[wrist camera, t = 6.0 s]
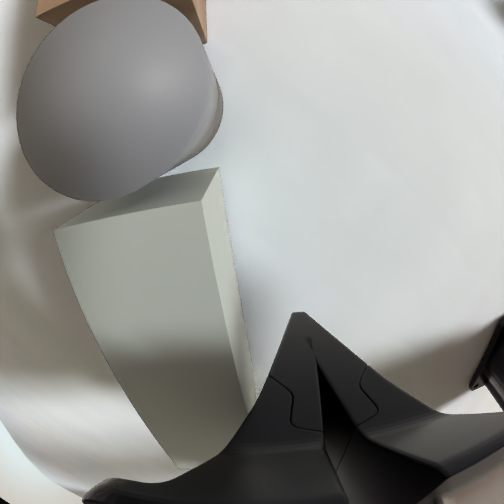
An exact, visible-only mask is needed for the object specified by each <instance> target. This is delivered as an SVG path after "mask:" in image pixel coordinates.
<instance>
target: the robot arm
mask: <svg viewBox="0 0 504 504" xmlns="http://www.w3.org/2000/svg"><path fill="white" fill-rule="evenodd" d="M484 385H485V386H486V387H487V388H488V390H489V391H490V393H491V394H492V395H493V397H494V398H495V400H496V401H497V403H498V404H499V405H500V407H501V408H502V410H503V411H504V318H503V319H502V320H501V321H500V323H499V325H498V327H497V330H496V332H495V334H494V337H493V339H492V341H491V343H490V345H489V348H488V350H487V352H486V354H485V356H484V358H483V360H482V362H481V364H480V366H479V368H478V370H477V372H476V373H475V375H474V377H473V379H472V381H471V383H470V384H469V388H470V389H471V391H473V390H475V389H478V388H480V387H482V386H484ZM82 502H83V503H84V504H504V412H496V413H482V414H454V415H453V414H444V413H441V412H438V411H435V410H433V409H432V408H430V407H428V406H427V405H425V404H423V403H422V402H420V401H418V400H417V399H415V398H414V397H412V396H411V395H409V394H407V393H406V392H404V391H403V390H401V389H400V388H398V387H397V386H395V385H394V384H392V383H391V382H389V381H388V380H386V379H385V378H384V377H383V376H381V375H380V374H379V373H377V372H376V371H375V370H374V369H372V368H371V367H370V366H369V365H368V366H367V364H366V363H365V362H364V361H363V360H361V359H360V358H359V357H358V356H357V355H355V354H354V353H353V352H352V351H351V350H349V349H348V348H347V347H346V346H345V345H343V344H342V343H341V342H340V341H339V340H337V339H336V338H335V337H334V336H333V335H331V334H330V333H329V332H328V331H327V330H325V329H324V328H323V327H322V326H321V325H320V324H318V323H317V322H316V321H315V320H314V319H312V318H311V317H310V316H309V315H308V314H306V313H305V312H294V313H292V314H291V317H290V320H289V322H288V325H287V328H286V330H285V333H284V336H283V339H282V341H281V344H280V346H279V349H278V352H277V354H276V357H275V359H274V362H273V365H272V367H271V370H270V372H269V375H268V377H267V379H266V382H265V384H264V386H263V389H262V391H261V393H260V395H259V397H258V399H257V401H256V402H255V404H254V406H253V407H252V409H251V411H250V412H249V414H248V415H247V417H246V418H245V420H244V421H243V423H242V424H241V426H240V427H239V429H238V430H237V432H236V433H235V435H234V436H233V437H232V439H231V440H230V442H229V443H228V444H227V445H226V447H225V448H224V449H223V450H222V451H221V452H220V453H219V454H217V455H216V456H214V457H213V458H211V459H209V460H208V461H206V462H204V463H202V464H201V465H199V466H197V467H195V468H193V469H192V470H190V471H188V472H186V473H184V474H182V475H180V476H178V477H177V478H174V479H172V480H169V481H166V482H161V483H143V482H137V481H132V480H127V479H121V478H111V479H106V480H105V481H103V482H101V483H100V484H98V485H96V486H95V487H93V488H92V489H91V490H90V491H89V492H87V494H86V495H85V496H84V498H83V499H82ZM0 504H9V503H8V502H6V501H5V500H3V499H2V498H0Z"/></svg>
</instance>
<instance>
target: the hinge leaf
mask: <svg viewBox="0 0 504 504" xmlns="http://www.w3.org/2000/svg"><path fill="white" fill-rule="evenodd" d="M217 101H218V90H217V83H216V78H215V75H214V72H213V69H212V67H211V64H210V62H209V59H208V57H207V54H206V52H205V49H204V47H203V44H202V42H201V39H200V37H199V35H198V33H197V32H196V30H195V28H194V26H193V25H192V24H191V23H190V21H189V20H188V19H187V18H186V17H185V16H184V15H183V14H182V13H181V12H180V11H178V10H177V9H176V8H174V7H173V6H171V5H169V4H167V3H166V2H163V1H161V0H98V1H96V2H93V3H91V4H88V5H86V6H84V7H82V8H80V9H79V10H77V11H76V12H74V13H72V14H71V15H69V16H68V17H67V18H65V19H64V20H63V21H62V22H61V23H59V24H58V25H57V26H56V27H55V28H54V29H53V30H52V31H51V32H50V33H49V34H48V35H47V37H46V38H45V39H44V40H43V42H42V43H41V44H40V46H39V47H38V49H37V50H36V52H35V53H34V55H33V57H32V58H31V60H30V62H29V64H28V66H27V69H26V71H25V74H24V76H23V79H22V82H21V86H20V89H19V94H18V100H17V112H16V119H17V130H18V136H19V141H20V144H21V147H22V150H23V153H24V155H25V157H26V160H27V161H28V163H29V165H30V166H31V168H32V170H33V171H34V172H35V173H36V175H37V176H38V177H39V178H40V179H41V180H42V181H43V182H44V183H45V184H46V185H48V186H49V187H50V188H52V189H53V190H55V191H56V192H58V193H61V194H63V195H65V196H67V197H70V198H74V199H77V200H84V201H99V202H97V203H96V204H94V205H92V206H91V207H89V208H87V209H86V210H84V211H82V212H81V213H79V214H77V215H76V216H74V217H73V218H71V219H69V220H68V221H66V222H65V223H63V224H62V225H60V226H59V227H57V228H56V229H54V230H53V233H54V236H55V239H56V242H57V245H58V249H59V252H60V255H61V257H62V260H63V263H64V266H65V269H66V272H67V274H68V277H69V280H70V282H71V285H72V287H73V290H74V292H75V295H76V297H77V300H78V302H79V304H80V307H81V309H82V311H83V314H84V316H85V318H86V320H87V322H88V325H89V327H90V329H91V331H92V333H93V335H94V337H95V339H96V341H97V343H98V345H99V347H100V349H101V351H102V353H103V355H104V357H105V359H106V361H107V362H108V364H109V366H110V368H111V370H112V371H113V373H114V375H115V377H116V379H117V380H118V382H119V384H120V385H121V387H122V389H123V390H124V392H125V394H126V395H127V397H128V399H129V400H130V402H131V403H132V405H133V406H134V408H135V410H136V411H137V413H138V414H139V416H140V417H141V419H142V420H143V422H144V423H145V425H146V426H147V427H148V429H149V430H150V432H151V433H152V434H153V436H154V437H155V439H156V440H157V441H158V443H159V444H160V445H161V447H162V448H163V449H164V451H165V452H166V453H167V455H168V456H169V457H170V458H171V460H172V461H173V462H174V463H175V465H176V466H177V467H178V468H185V469H193V468H195V467H197V466H199V465H201V464H202V463H204V462H206V461H208V460H209V459H211V458H213V457H214V456H216V455H217V454H219V453H220V452H221V451H222V450H223V449H224V448H225V447H226V445H227V444H228V443H229V442H230V440H231V439H232V437H233V436H234V435H235V433H236V432H237V430H238V429H239V427H240V426H241V424H242V423H243V421H244V420H245V418H246V417H247V415H248V414H249V412H250V411H251V409H252V407H253V406H254V404H255V402H256V393H255V380H254V372H253V367H252V361H251V356H250V350H249V345H248V339H247V334H246V328H245V322H244V317H243V311H242V305H241V300H240V294H239V288H238V282H237V276H236V270H235V264H234V258H233V252H232V246H231V240H230V234H229V228H228V222H227V215H226V209H225V203H224V196H223V190H222V183H221V177H220V170H219V167H218V168H211V169H205V170H199V171H193V172H188V173H182V174H177V175H171V176H166V177H161V178H158V177H160V176H161V175H163V174H165V173H166V172H168V171H170V170H172V169H173V168H175V167H177V166H179V165H180V164H181V163H183V162H184V161H185V160H187V159H188V158H189V157H190V156H191V155H192V154H193V153H194V152H195V151H196V150H197V149H198V147H199V146H200V145H201V144H202V142H203V141H204V139H205V138H206V136H207V134H208V132H209V130H210V128H211V126H212V123H213V120H214V118H215V114H216V109H217Z"/></svg>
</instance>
